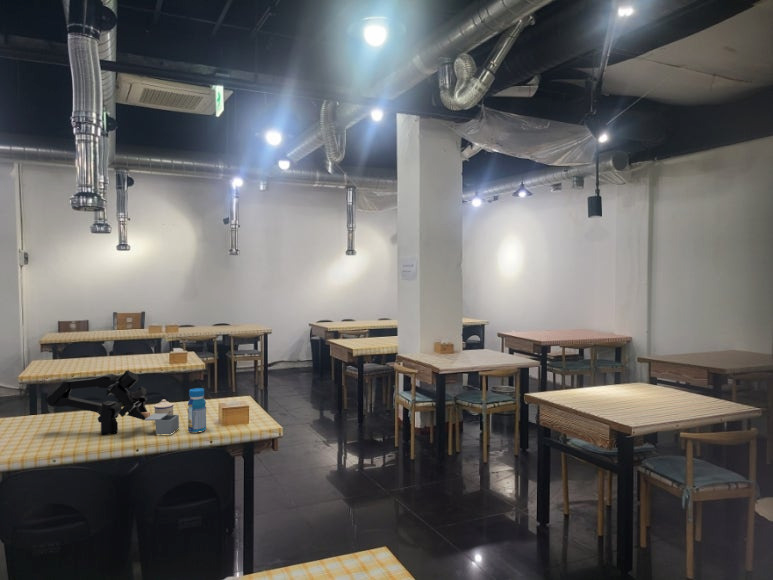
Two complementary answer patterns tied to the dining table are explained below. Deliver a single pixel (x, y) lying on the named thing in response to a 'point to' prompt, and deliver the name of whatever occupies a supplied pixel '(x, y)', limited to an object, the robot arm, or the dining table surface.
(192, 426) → the beverage bottle
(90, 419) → the dining table surface
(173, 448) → the dining table surface
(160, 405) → the teacup with lid
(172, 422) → the carton
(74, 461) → the dining table surface
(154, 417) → the lid
